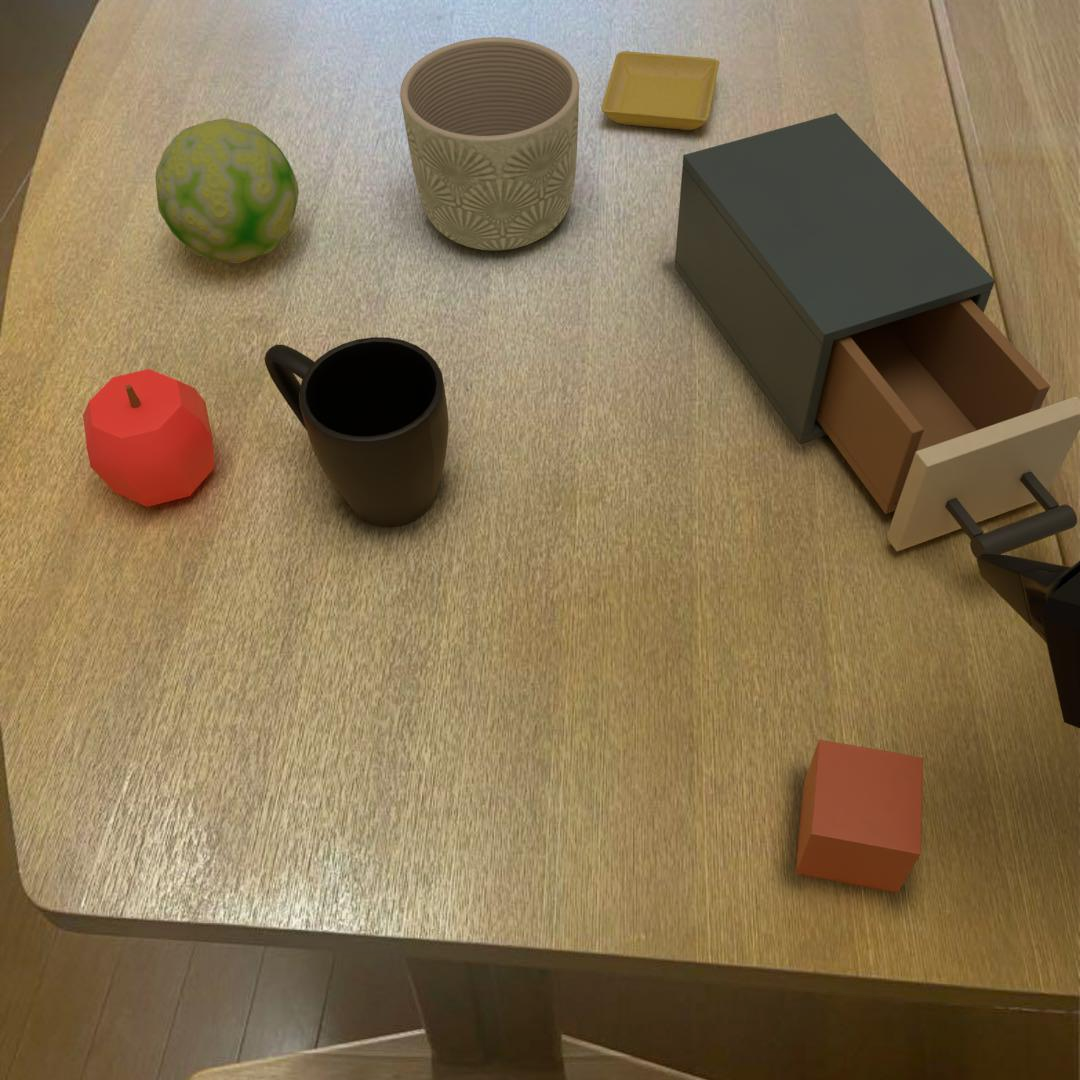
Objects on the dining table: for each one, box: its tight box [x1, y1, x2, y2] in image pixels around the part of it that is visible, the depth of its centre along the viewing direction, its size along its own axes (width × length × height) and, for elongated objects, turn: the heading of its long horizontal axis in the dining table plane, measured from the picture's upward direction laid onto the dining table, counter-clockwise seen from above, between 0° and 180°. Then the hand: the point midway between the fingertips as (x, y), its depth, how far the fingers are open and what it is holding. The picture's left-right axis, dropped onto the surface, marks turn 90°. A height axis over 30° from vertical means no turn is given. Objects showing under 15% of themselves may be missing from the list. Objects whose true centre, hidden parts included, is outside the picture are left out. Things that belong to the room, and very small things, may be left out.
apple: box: [82, 368, 216, 508], centre depth 73 cm, size 8×8×8 cm
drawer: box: [816, 298, 1080, 559], centre depth 71 cm, size 22×10×8 cm, turn 22°
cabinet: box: [674, 112, 996, 445], centre depth 79 cm, size 19×12×10 cm, turn 22°
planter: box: [399, 36, 580, 251], centre depth 86 cm, size 12×12×11 cm
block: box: [795, 739, 924, 894], centre depth 58 cm, size 5×5×5 cm
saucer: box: [600, 50, 721, 131], centre depth 98 cm, size 9×9×2 cm
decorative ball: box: [155, 117, 300, 264], centre depth 85 cm, size 10×10×10 cm
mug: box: [264, 336, 450, 528], centre depth 72 cm, size 8×12×10 cm
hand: (1047, 513), depth 55 cm, fingers open, 9 cm apart
